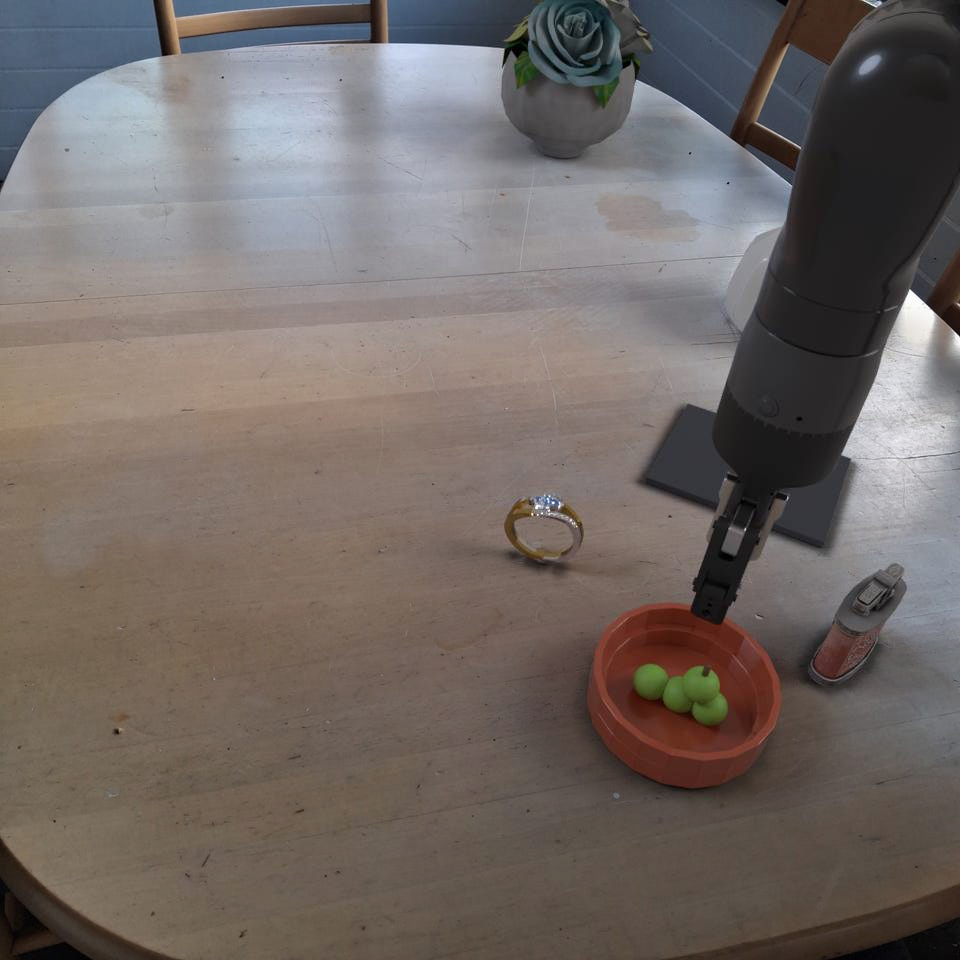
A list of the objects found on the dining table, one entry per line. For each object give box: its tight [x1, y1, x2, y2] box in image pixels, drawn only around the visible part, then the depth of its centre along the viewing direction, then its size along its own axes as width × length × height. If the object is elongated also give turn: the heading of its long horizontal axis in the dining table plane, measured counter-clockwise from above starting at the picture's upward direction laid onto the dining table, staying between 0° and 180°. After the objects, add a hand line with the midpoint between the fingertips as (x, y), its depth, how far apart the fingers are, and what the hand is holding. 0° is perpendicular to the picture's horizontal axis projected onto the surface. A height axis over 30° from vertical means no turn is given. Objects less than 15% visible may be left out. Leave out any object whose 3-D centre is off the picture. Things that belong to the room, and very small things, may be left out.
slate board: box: [644, 403, 852, 549], centre depth 93 cm, size 18×14×1 cm
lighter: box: [807, 562, 908, 688], centre depth 73 cm, size 8×3×10 cm, turn 133°
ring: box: [503, 490, 585, 565], centre depth 80 cm, size 7×3×8 cm, turn 66°
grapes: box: [633, 664, 728, 726], centre depth 70 cm, size 8×3×6 cm, turn 63°
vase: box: [723, 226, 782, 333], centre depth 109 cm, size 14×14×13 cm
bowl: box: [586, 601, 783, 789], centre depth 71 cm, size 14×14×4 cm
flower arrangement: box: [500, 0, 654, 159], centre depth 142 cm, size 25×25×24 cm
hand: (724, 574), depth 62 cm, fingers open, 8 cm apart
